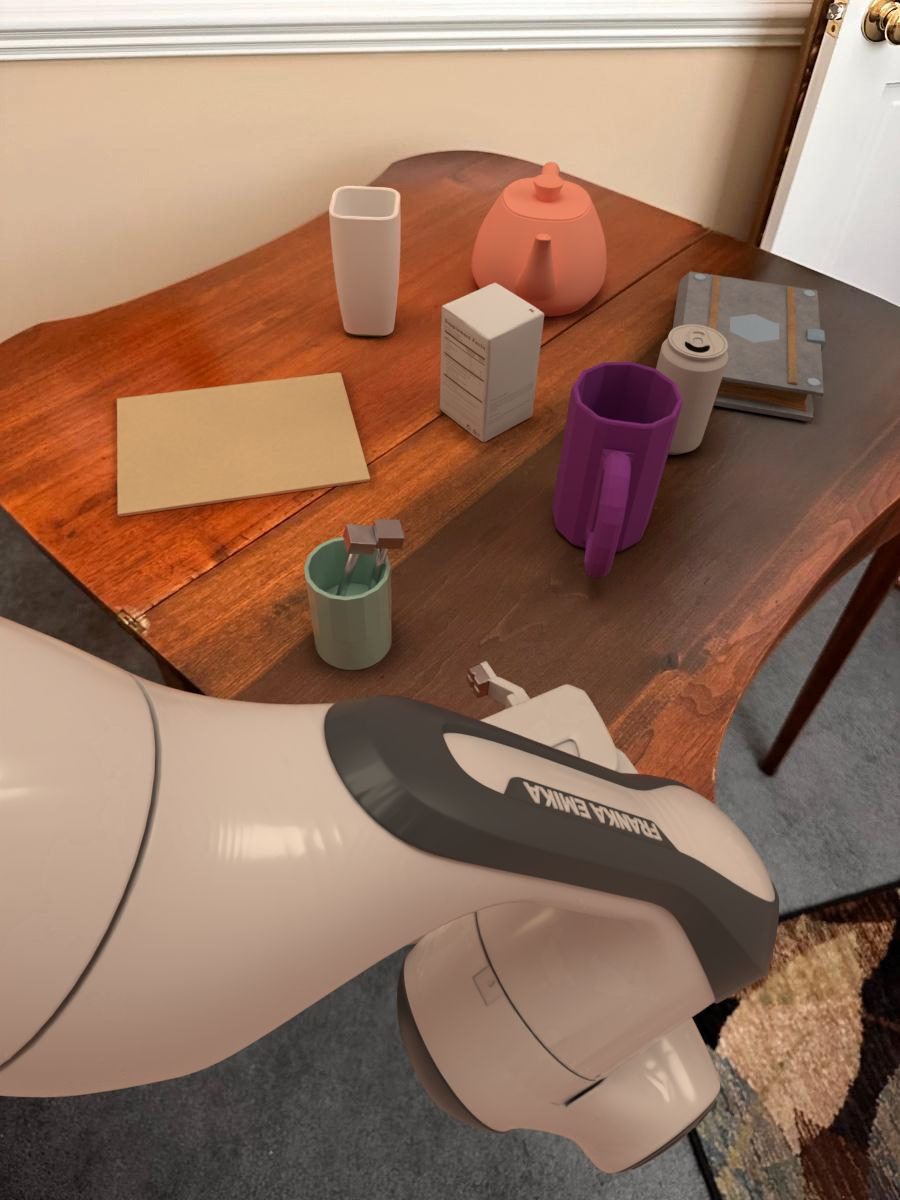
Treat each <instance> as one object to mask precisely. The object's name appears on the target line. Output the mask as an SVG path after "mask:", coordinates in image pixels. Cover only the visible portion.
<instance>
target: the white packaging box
mask: <svg viewBox="0 0 900 1200" xmlns="http://www.w3.org/2000/svg"><path fill="white" fill-rule="evenodd" d="M440 319H441V320H440V321H441V323H440V325H441V327H440V328H441V329H440V330H441V331H440V371H439V374H440V376H439V409H440V411H441V412H442V413H444V414H445V415H446V416H447V417H448V418H450V419H451V420H453V421H454V422H455V423H456V424H458V425H459V426H460V427H461V428H463V429H464V430H465V431H467V432H468V433H469V434H470V435H472V436H473V437H475V438H476V439H477V440H479V441H480V442H481V443H483V444H484V443H486V442H488V441H490V440H492V439H493V438H495V437H497V436H499V435H500V434H502V433H504V432H507V431H508V430H510V429H512V428H513V427H516V426H517V425H519V424H521V423H523V422H524V421H526V420H528V419H530V418H532V417H533V413H534V412H533V411H534V404H535V396H536V395H535V394H536V386H537V380H538V370H539V362H540V354H541V347H542V346H541V345H542V338H543V337H542V336H543V329H544V321H545V320H544V319H545V316H544V313H543V312H541V311H540V310H539V309H537V308H536V307H534V306H533V305H531V304H529V303H528V302H526V301H525V300H523V299H521V298H520V297H518V296H516V295H515V294H513V293H512V292H510V291H508V290H507V289H505V288H504V287H502V286H500V285H499V284H497V283H492V284H490V285H488V286H486V287H484V288H481V289H480V288H479V289H476V290H475V291H473V292H470V293H468V294H466V295H463V296H461V297H459V298H457V299H454V300H452V301H450V302H447V303H444V304H442V305H441V318H440Z"/></svg>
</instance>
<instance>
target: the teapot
mask: <svg viewBox="0 0 900 1200" xmlns="http://www.w3.org/2000/svg"><path fill="white" fill-rule="evenodd" d="M560 171H561V169H560V165H558V163H557V162H553V161H548V162H546V163H545V164H544V165H543V167H542V169H541V174H537V175H536V176H534V177H525V178H524V177H523V178H520V179H517V180H515V181H513V182H511V183H509V184H508V185H507V186H506V187H505V188H504V189H503V191H502V192H501V193H500V194H499V196H498V197H497V198H496V200H495V202H494V203H493V205H492V207H491V208H490V209H489V211H488V212H487V214H486V216H485V218H484V220H483V221H482V223H481V226H480V227H479V230H478V232H477V235H476V239H475V241H474V246H473V249H472V255H471V273H472V276H473V279H474V282H475V284H476V285H477V287H478V288H479V289H481V288H484V287H486V286H488V285H490V284H492V283H497V284H499V285H500V286H502V287H504V288H505V289H507V290H508V291H510V292H512V293H513V294H515V295H516V296H518V297H520V298H521V299H523V300H525V301H526V302H528V303H529V304H531V305H533V306H534V307H536V308H537V309H539V310H540V311H541V312H543V313H544V317H560V316H567V315H570V314H573V313H575V312H577V311H579V310H580V309H582V308H583V307H584V306H585V305H587V304H589V302H590V301H591V300H592V299H593V298H594V297H595V296H596V295H597V294H598V293H599V292H600V290H601V288H602V287H603V285H604V282H605V280H606V276H607V275H606V273H607V268H608V267H607V265H608V263H607V261H608V256H607V243H606V237H605V234H604V230H603V226H602V224H601V221H600V218H599V217H600V216H599V214H598V212H597V209H596V207H595V205H594V202H593V200H592V198H591V195H590V194H589V193H588V191H586V189H585V188H584V187H582V186H581V185H580V184H578V183H575V182H572V181H568V180H564V179H563V178H562V177H561V176H560Z"/></svg>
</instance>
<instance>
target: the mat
mask: <svg viewBox="0 0 900 1200" xmlns="http://www.w3.org/2000/svg"><path fill="white" fill-rule="evenodd" d="M116 435H117V436H116V437H117V438H116V451H117V452H116V461H117V462H116V469H117V470H116V471H117V473H116V474H117V475H116V476H117V479H116V481H117V482H116V483H117V485H116V486H117V487H116V488H117V489H116V491H117V493H116V494H117V495H116V497H117V502H116V503H117V504H116V505H117V517H118V518H121V517H127V516H136V515H143V514H149V513H156V512H157V513H158V512H164V511H171V510H177V509H185V508H192V507H199V506H205V505H206V506H207V505H213V504H221V503H228V502H233V501H241V500H248V499H249V500H250V499H255V498H261V497H262V498H263V497H269V496H276V495H282V494H283V495H285V494H290V493H291V494H292V493H298V492H303V491H304V492H305V491H312V490H318V489H325V488H333V487H339V486H346V485H355V484H361V483H368V482H371V476H370V472H369V468H368V465H367V462H366V459H365V454H364V450H363V447H362V443H361V439H360V437H359V433H358V430H357V426H356V422H355V418H354V415H353V411H352V408H351V404H350V399H349V397H348V393H347V390H346V387H345V383H344V379H343V376H342V372H340V371H339V372H331V373H330V372H329V373H322V374H313V375H305V376H296V377H287V378H280V379H271V380H270V379H269V380H262V381H254V382H245V383H237V384H229V385H219V386H212V387H203V388H194V389H186V390H178V391H169V392H160V393H159V392H158V393H152V394H144V395H135V396H127V397H126V396H125V397H117V398H116Z"/></svg>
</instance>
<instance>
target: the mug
mask: <svg viewBox="0 0 900 1200" xmlns="http://www.w3.org/2000/svg"><path fill="white" fill-rule="evenodd" d="M682 404H683V400H682V397H681V395H680V392H679V390H678V387H677V385H676V383H675V382H674V381H672V380H671V379H669V378H668V377H666V376H665V375H664V374H662V373H661V372H659V371H658V370H657V369H656V368H654V367H650V366H647V365H643V364H640V363H636V362H633V361H603V362H600V363H598V364H596V365H593V366H590V367H588V368H586V369H583V370H582V371H581V372H580V374H579V375H578V377H577V379H575V382H574V384H573V385H572V386H571V390H570V397H569V403H568V409H567V415H566V421H565V427H564V433H563V439H562V444H561V450H560V457H559V463H558V469H557V475H556V482H555V488H554V493H553V498H552V505H551V512H552V516H553V517H552V518H553V521H554V526H555V530H556V531H558V533H559V534H560V535H562V536H563V537H564V538H565V539H566V540H567V541H568V542H569V543H570V544H571V545H573V546H576V547H578V548H582V549H585V553H584V560H583V564H584V571H585V574H586V576H587V577H589V578H592V579H594V580H595V579H602V578H604V577H606V576H607V575H609V573H610V572H611V568H612V566H613V563H614V559H615V555H616V552H622V551H624V550H626V549H628V548H630V547H631V546H633V545H635V544H638V543H639V542H640V541H641V539H642V538H643V536H644V533H645V531H646V529H647V526H648V524H649V522H650V518H651V515H652V513H653V512H652V511H653V509H654V505H655V502H656V498H657V494H658V490H659V487H660V484H661V481H662V478H663V477H662V476H663V474H664V470H665V466H666V462H667V460H668V456H669V454H668V453H669V449H670V446H671V442H672V439H673V435H674V432H675V428H676V425H677V422H678V418H679V415H680V411H681V408H682Z"/></svg>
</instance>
